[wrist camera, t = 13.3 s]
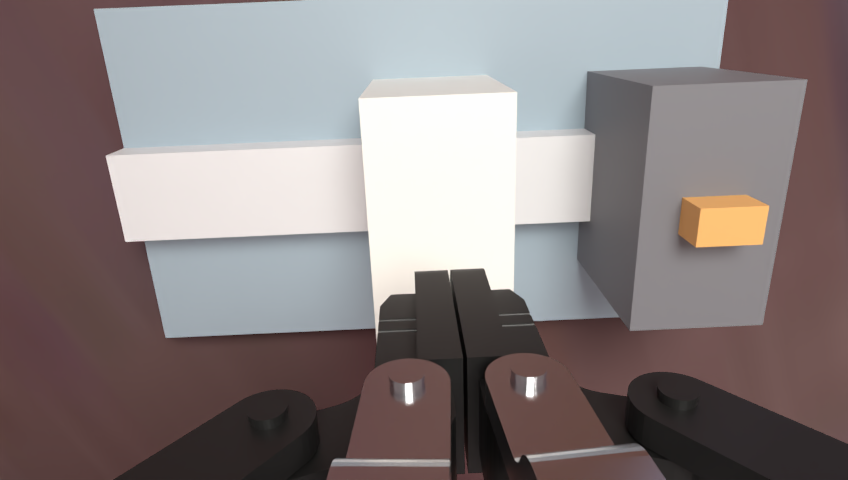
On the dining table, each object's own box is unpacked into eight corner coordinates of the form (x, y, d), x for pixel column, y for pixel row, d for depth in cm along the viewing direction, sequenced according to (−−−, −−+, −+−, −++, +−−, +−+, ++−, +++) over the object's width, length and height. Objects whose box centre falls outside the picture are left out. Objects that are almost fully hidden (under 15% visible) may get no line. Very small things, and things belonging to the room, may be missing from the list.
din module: (372, 79, 23) (358, 98, 16) (486, 74, 23) (517, 92, 16) (385, 266, 25) (376, 346, 19) (486, 262, 25) (512, 340, 19)
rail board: (112, 10, 23) (-67, -3, 14) (711, -14, 23) (890, -42, 14) (178, 322, 28) (73, 454, 19) (672, 299, 28) (790, 420, 19)
